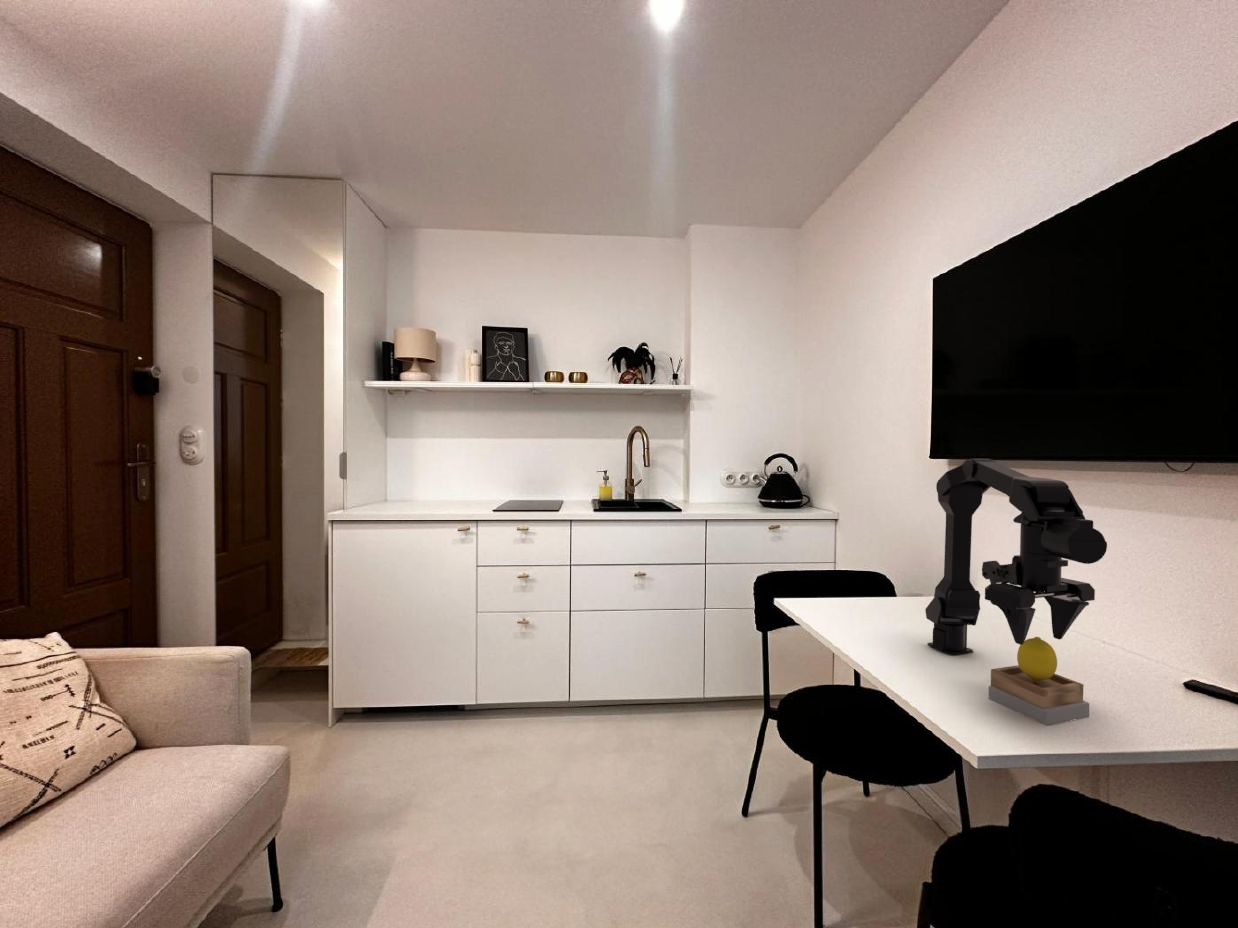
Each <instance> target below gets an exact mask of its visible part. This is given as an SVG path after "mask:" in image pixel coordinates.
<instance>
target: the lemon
mask: <svg viewBox="0 0 1238 928" xmlns="http://www.w3.org/2000/svg"><path fill="white" fill-rule="evenodd" d="M1016 656H1017V657H1016V659H1017V665H1019V667H1020V669H1021V670H1022V672H1023V673H1024V674H1025V675H1027V676H1028V677H1030V678H1031V679H1032V680H1033V681H1034V682H1037V683H1038V682H1040V681H1041V680H1046V679H1049V678H1051V677H1052V676H1053V675H1054V674H1056V671H1057V667H1058V659H1057V658H1058V657H1057V654H1056V651H1055V650H1054V648H1053V646H1052V645H1051V644H1050V643H1048V642H1047V641H1045V640H1044V639H1042V638H1041V637H1040V636H1035V637H1032V638H1031V637H1030V638H1026V639H1025V641H1024V643H1023V644H1022V645H1020V644H1019V646H1018V650H1017V654H1016Z"/></svg>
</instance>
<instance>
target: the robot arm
mask: <svg viewBox="0 0 1238 928" xmlns="http://www.w3.org/2000/svg"><path fill="white" fill-rule="evenodd" d="M935 485H936V486H935V488H936V492H937V500H938V503H939V505H940V506H941V508H942V509H943V511H944V512H945V533H944V535H945V536H944V538H945V539H944V561H943V569H944V570H943V577H942V579H941V580H940V581H939V583H938V584H937V585H935V588H934V596H933V598H932V600H931V601H930V602H929V604H928V605H927V606H926V608H925V610H924V611H925V617H926V619H927V620H928V621H929V622H932V623H933V628H932V641H931V642H928V643H927V646H929V647H931V648H934V649H936V650H938V651H941V652H943V653H945V654H947V655H950V656H955V655H961V654H969V653H973V652H974V649H972V648H969V647H968V646H967V645H968V642H967V641H968V626H976V625H977V622H978V618H979V614H980V611H981V605H980V602H981V601H980V599H981V593H980V592H979V590H976V589H975V586H974V585H973V584H972V582H971V559H972V558H971V557H972V556H971V554H972V532H973V531H972V529H973V515H974V514H975V513H976V511H977V510H978V509H979V508H980V506H981V505H982V501H983V496H984V494H985V493H986V492H987V491H988V490H989V489H990V488H991V489H994V490H996V491H998V492H1000V493H1002V494H1005V496H1007V497H1008V503H1010V504H1011V505H1012V506H1013V508H1015V509H1016V510H1018V511H1019V512H1021V513H1020V514H1019V515H1017V516H1015V517H1014V518H1013V519H1012V520H1013V523H1015V524H1020V531H1019V532H1020V536H1019V537H1020V539H1019V540H1020V541H1019V544H1020V545H1019V554H1017V555H1013V556H1012V558H1011V563H1007V564H1000V562H998V560H989V561H988V560H987V561H983V562H982V565H981V576H982V577H983V578H984V579H985V580H989V582H990V583H989V584H988V585H987V586H986V587H984V600H986V601H989V602H990V603H991V605H994V606H996V607H997V608H998V609H999V610H1001V611H1002V613H1003V615H1004V617H1005V619H1006V621H1007V624H1008V626H1009V630H1010V632H1011V635H1012V637H1013V641H1014V642H1015V644H1017V645H1019V646H1020V645H1022V644H1023V643H1024V641H1025V640H1027V636H1028V633H1029V630H1030V627H1031V624H1032V621H1033V619H1034V616H1035V613H1036V608H1035V607H1033V606H1034V604H1035V602H1036V599H1040V598H1043V599H1045V601H1046V602H1047V604H1048V605H1049V606H1050V616H1051V617H1050V618H1051V630H1052V635H1053V638H1054V639H1057V640H1062V639H1063V637H1064V636H1065V635H1066V633H1067V632H1068V631H1069V629H1070V628H1071V626H1072V625H1073V623H1075V620H1076V619H1077V618H1078V617H1079V616H1080V614H1081V613H1082V612H1083V610H1084V609H1085V608H1086V607H1087V606H1089V605H1090V602H1089V601H1095V599H1096V598H1095V596H1096V589H1095V588H1094V587H1093V586H1092V585H1091V584H1090V582H1085V581H1080V580H1074V579H1069V578H1066V577H1062V567H1063V568H1064V567H1069V561H1073V562H1077V563H1081V564H1084V565H1091V564H1094V563H1097V562H1099V561H1100V560H1101V559H1102V558H1104V556H1105V555H1106V552H1107V549H1108V543H1107V542H1108V541H1106V539H1105V537H1104V535H1103V533H1102V532H1100V531H1099V529H1096V528H1095V527H1094V521H1093V520H1092V519H1086V517H1085V515H1084V511H1083V509H1082V508H1081V507H1080V505H1079V503H1078V501H1077V500H1076V498H1075V496H1074V494H1073V492H1072V491H1071V489H1070V488H1069V485H1068V484H1067V483H1066V482H1065V481H1063V480H1059V479H1054V478H1053V479H1052V478H1047V477H1046V478H1044V477H1043V478H1042V477H1034V476H1028V475H1026V474H1024V473H1022V472H1019V471H1016V470H1015V469H1012V468H1009V467H1008V466H1004V465H1002V464H1000V463H997V462H996V461H995V460H994V459H990V458H970V459H967V460H965V461H964V462H963V463H962V464H961V465H958V466H956V467H955V468H954V467H953V468H952V469H950V470H947V471H946V472H945V473H944V474H943V475H942V476H941V477H940V478H939V479H938V480H937V482H936V484H935Z"/></svg>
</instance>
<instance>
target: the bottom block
mask: <svg viewBox="0 0 1238 928" xmlns="http://www.w3.org/2000/svg"><path fill="white" fill-rule="evenodd" d="M988 700H990V701H992V702H994V703H996V704H999V705H1001V706H1003V707H1005V708H1007V709H1008V710H1009V709H1010V710H1012V711H1014V712H1016V713H1018V712H1019V713H1018V714H1021V715H1022V714H1023V716H1024V717H1027V718H1030V719H1032V720H1033V719H1034V720H1033V721H1036V722H1038V723H1039V724H1043V725H1044V726H1047V727H1048V726H1053V725H1057V724H1058V725H1059V724H1063V723H1067V722H1066V721H1068V722H1071V721H1070V720H1072V721H1074V720H1073V719H1077V720H1081V719H1086V718H1090V702H1088V701H1085V700H1083V702H1079V703H1074V704H1068V705H1063V706H1057V707H1051V708H1046V709H1043V708H1040V707H1038V706H1036V705H1034V704H1031V703H1029V702H1027V701H1024V700H1022V699H1020V698H1018V697H1015V696H1013V695H1011V694H1009V693H1006V692H1004V691H1002V690H1000V689H997V688H995V687H993V686H991V685H989V686H988ZM1062 722H1063V723H1062Z"/></svg>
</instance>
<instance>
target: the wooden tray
mask: <svg viewBox="0 0 1238 928" xmlns="http://www.w3.org/2000/svg"><path fill="white" fill-rule="evenodd" d="M990 686H993V687H995V688H997V689H1000V690H1002V691H1004V692H1006V693H1009V694H1011V695H1013V696H1015V697H1018V698H1020V699H1022V700H1024V701H1027V702H1029V703H1031V704H1034V705H1036V706H1038V707H1040V708H1043V709H1046V708H1051V707H1057V706H1063V705H1068V704H1074V703H1079V702H1083V701H1084V683H1081V682H1078V681H1075V680H1073V679H1070V678H1068V677H1065V676H1062V675H1061V674H1060V675H1059V674H1057V673H1054V675H1053V676H1052V677H1051V678H1049V679H1046V680H1041V681H1040V682H1038V683H1037V682H1034V681H1033V680H1032V679H1031V678H1030V677H1028V676H1027V675H1025V674H1024V673H1023V672H1022V670H1021V669H1020V667H1019V665H1018V664H1017V665H1011V666H1004V667H997V668H991V669H990Z"/></svg>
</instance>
